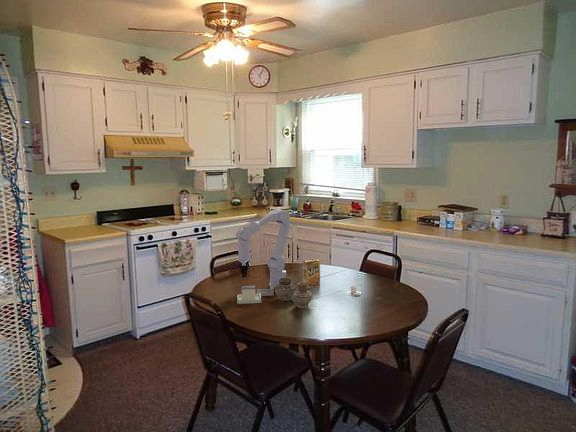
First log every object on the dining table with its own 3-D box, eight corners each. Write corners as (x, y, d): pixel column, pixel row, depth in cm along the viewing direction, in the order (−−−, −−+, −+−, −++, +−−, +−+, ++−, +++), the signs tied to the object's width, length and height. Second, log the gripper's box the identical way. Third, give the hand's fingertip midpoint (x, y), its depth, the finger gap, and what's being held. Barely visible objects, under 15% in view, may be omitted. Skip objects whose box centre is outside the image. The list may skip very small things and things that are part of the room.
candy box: (306, 288, 240) (306, 262, 238) (303, 286, 244) (303, 260, 242) (320, 286, 243) (320, 260, 241) (317, 284, 247) (317, 258, 245)
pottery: (300, 312, 205) (300, 288, 203) (270, 298, 224) (269, 276, 222) (318, 306, 212) (318, 283, 210) (287, 294, 231) (286, 272, 229)
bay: (273, 291, 235) (272, 284, 235) (273, 295, 229) (273, 288, 228) (256, 292, 234) (256, 285, 234) (256, 296, 228) (256, 289, 227)
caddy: (255, 297, 224) (255, 285, 223) (255, 300, 220) (255, 287, 219) (241, 298, 223) (240, 286, 223) (240, 300, 220) (240, 288, 219)
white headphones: (360, 297, 226) (360, 289, 225) (345, 296, 227) (345, 289, 227) (361, 292, 234) (361, 284, 234) (346, 291, 236) (346, 284, 235)
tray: (260, 296, 227) (260, 293, 227) (261, 302, 218) (261, 299, 218) (237, 297, 226) (237, 294, 226) (237, 303, 217) (237, 300, 217)
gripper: (236, 248, 238) (237, 271, 240) (235, 254, 224) (236, 279, 226) (249, 247, 238) (250, 271, 240) (249, 253, 224) (250, 278, 226)
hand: (244, 275), depth 233 cm, fingers open, 7 cm apart
